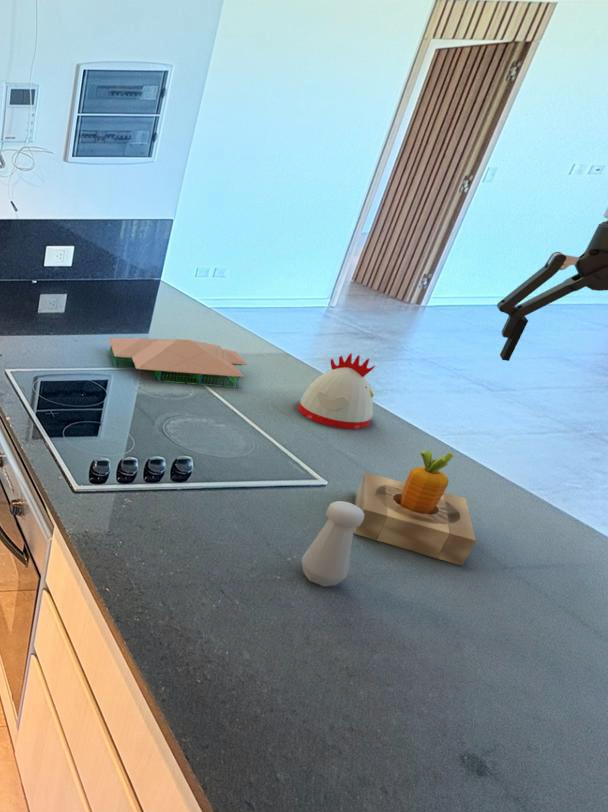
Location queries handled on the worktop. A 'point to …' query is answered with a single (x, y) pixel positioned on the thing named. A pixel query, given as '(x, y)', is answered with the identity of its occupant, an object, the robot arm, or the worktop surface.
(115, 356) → the house
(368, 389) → the kitchen timer
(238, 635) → the worktop surface
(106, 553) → the worktop surface
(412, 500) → the carrot
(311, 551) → the salt shaker
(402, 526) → the holder
